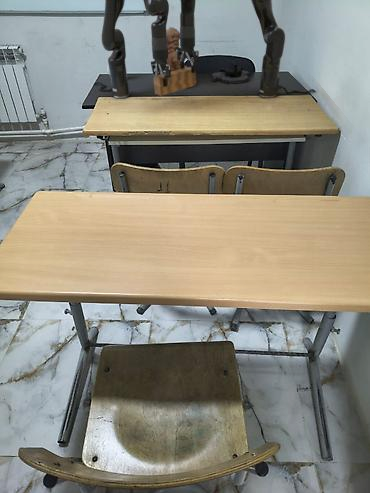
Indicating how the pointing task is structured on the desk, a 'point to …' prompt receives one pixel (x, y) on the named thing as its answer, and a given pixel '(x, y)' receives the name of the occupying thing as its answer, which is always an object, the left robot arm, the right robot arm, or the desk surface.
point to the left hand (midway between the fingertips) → (162, 85)
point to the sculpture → (173, 48)
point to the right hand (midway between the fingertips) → (188, 71)
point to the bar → (175, 81)
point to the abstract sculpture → (231, 74)
